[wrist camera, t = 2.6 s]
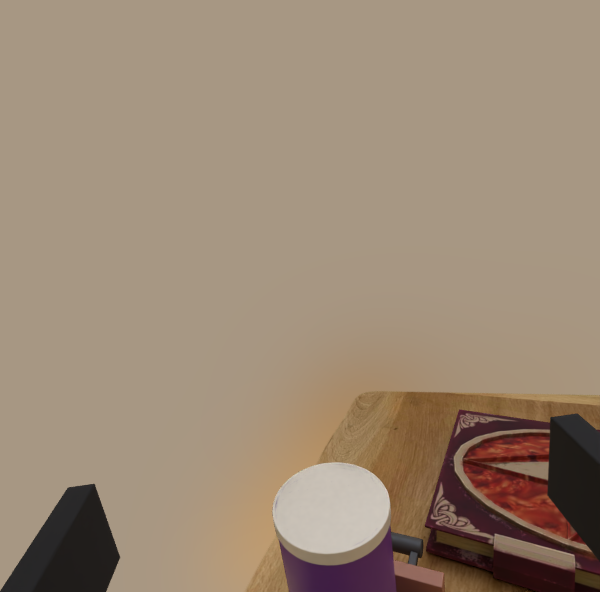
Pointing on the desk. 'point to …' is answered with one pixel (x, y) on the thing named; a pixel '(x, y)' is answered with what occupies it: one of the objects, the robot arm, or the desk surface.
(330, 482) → the tube
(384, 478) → the desk surface
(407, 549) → the drawer
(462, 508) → the book
